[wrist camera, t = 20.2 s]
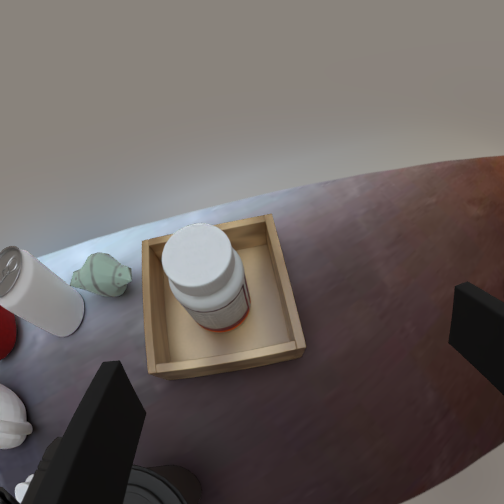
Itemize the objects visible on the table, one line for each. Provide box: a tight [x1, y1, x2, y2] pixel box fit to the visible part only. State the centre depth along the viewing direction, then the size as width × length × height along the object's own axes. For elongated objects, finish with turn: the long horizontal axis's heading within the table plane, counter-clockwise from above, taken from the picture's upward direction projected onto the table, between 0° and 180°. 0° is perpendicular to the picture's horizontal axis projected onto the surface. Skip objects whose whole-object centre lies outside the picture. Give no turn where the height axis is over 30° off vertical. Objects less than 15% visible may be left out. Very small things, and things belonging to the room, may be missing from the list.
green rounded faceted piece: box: [70, 253, 132, 297], centre depth 31 cm, size 8×4×7 cm, turn 94°
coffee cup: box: [123, 465, 202, 504], centre depth 18 cm, size 8×8×10 cm
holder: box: [142, 214, 306, 380], centre depth 30 cm, size 14×14×5 cm
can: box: [0, 246, 84, 337], centre depth 27 cm, size 6×6×12 cm
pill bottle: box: [162, 223, 251, 333], centre depth 26 cm, size 6×6×11 cm
